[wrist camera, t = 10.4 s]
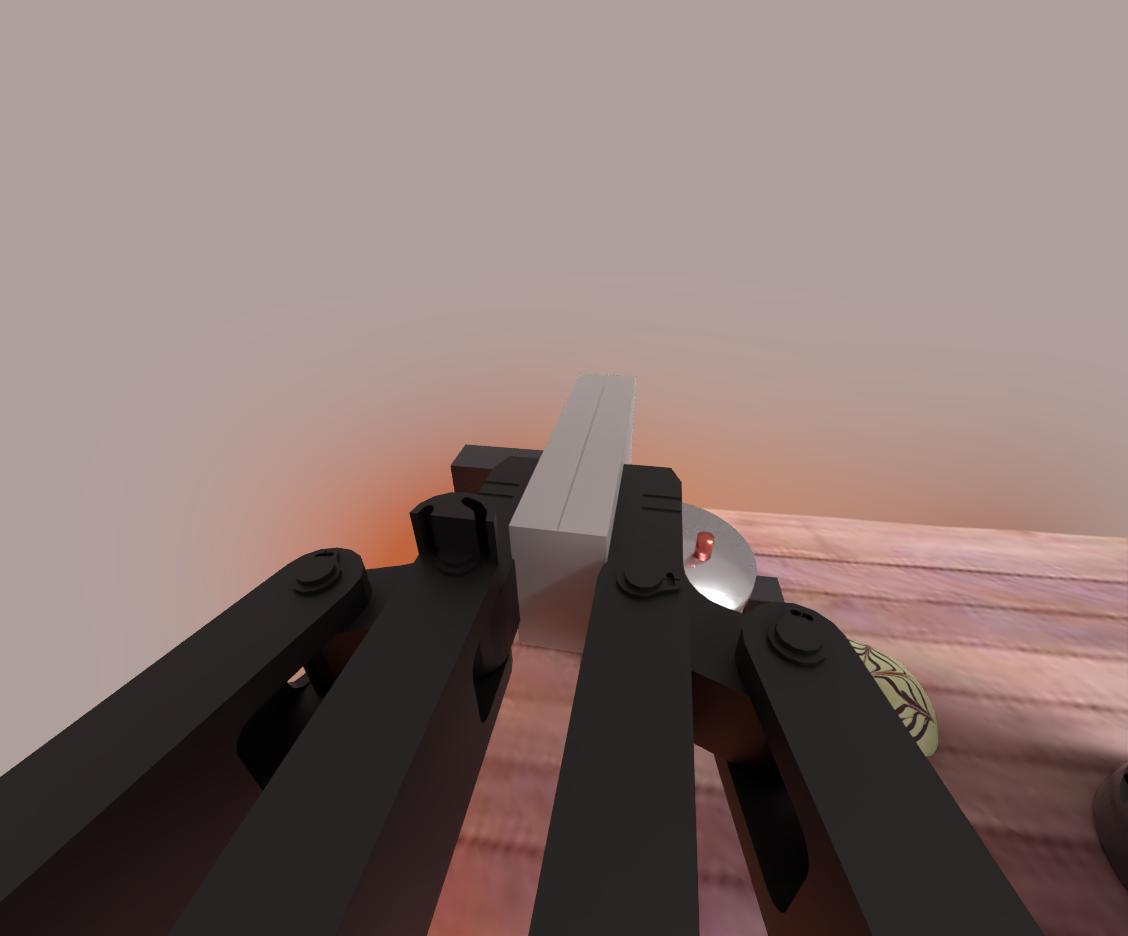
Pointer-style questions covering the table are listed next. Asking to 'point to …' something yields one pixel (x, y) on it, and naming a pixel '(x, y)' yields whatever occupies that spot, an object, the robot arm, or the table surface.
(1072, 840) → the table surface
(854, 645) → the decorated donut
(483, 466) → the lid
